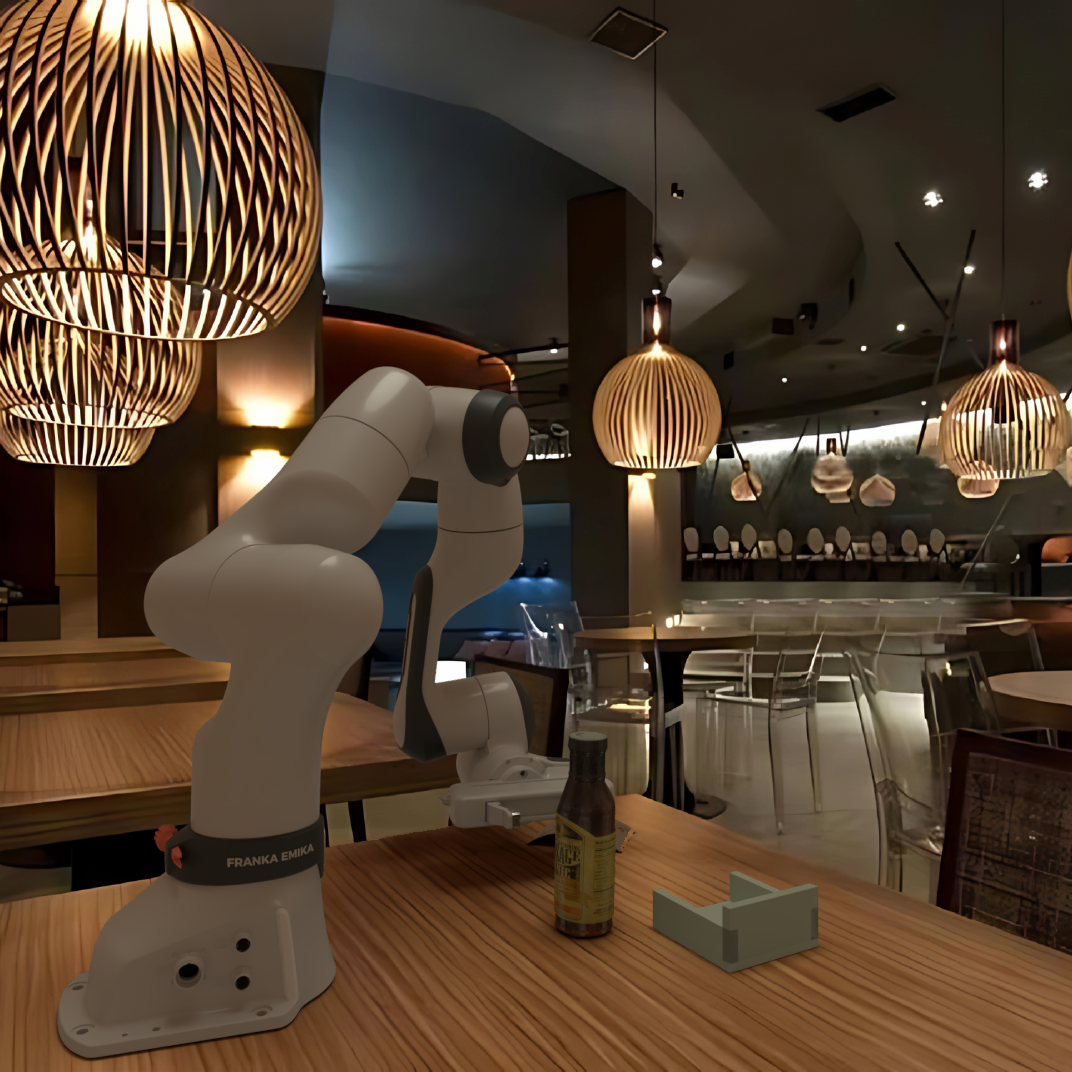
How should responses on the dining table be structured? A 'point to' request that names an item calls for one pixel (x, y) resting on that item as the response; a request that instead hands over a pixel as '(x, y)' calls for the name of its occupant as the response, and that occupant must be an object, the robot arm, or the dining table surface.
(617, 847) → the grey curved piece
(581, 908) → the sauce bottle
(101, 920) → the dining table surface
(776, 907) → the caddy
